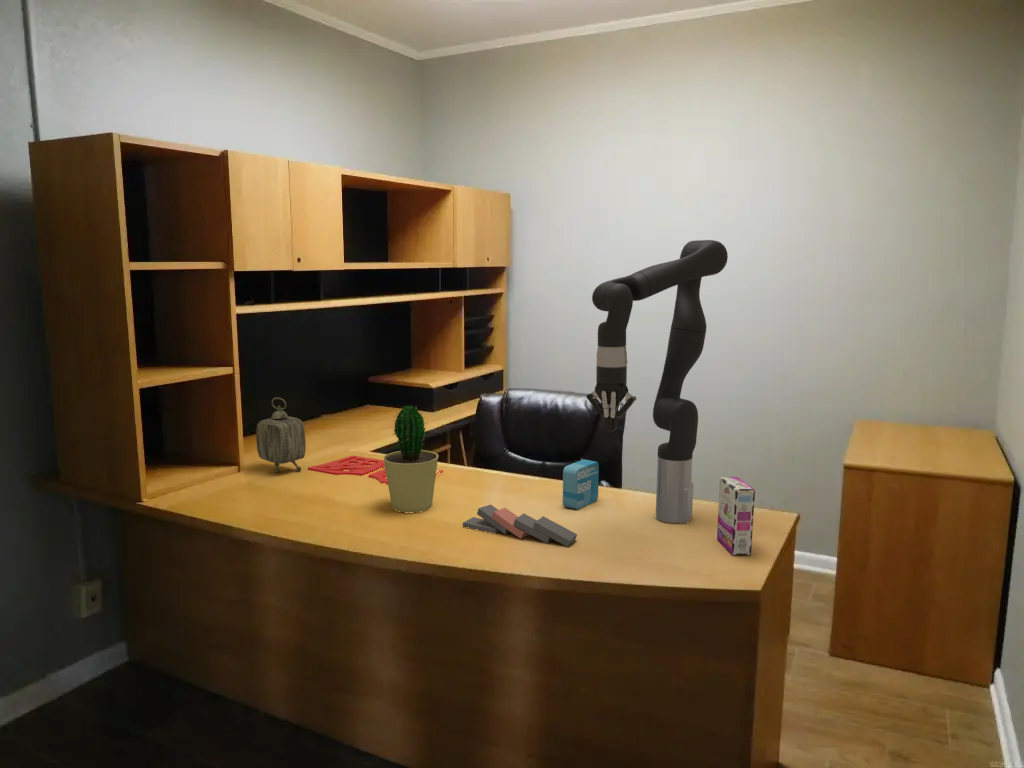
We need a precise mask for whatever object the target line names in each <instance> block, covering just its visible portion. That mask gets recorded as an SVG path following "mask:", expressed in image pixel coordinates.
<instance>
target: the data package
mask: <svg viewBox="0 0 1024 768" xmlns="http://www.w3.org/2000/svg"><path fill="white" fill-rule="evenodd" d="M599 468H600V466H599V462H598V461H594V460H589V459H581V460H578V461H576V462H574V463H570V464H568V465H566V466H565V467H564V468H563V471H562V505H563V506H564V507H566V508H568V509H572V510H580V509H582V508H585V507H586V506H588V505H589V506H590V505H591V504H593V503H595V502H597V500H598V498H599V478H600V477H599V474H600V473H599V472H600V469H599Z"/></svg>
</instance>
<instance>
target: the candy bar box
mask: <svg viewBox="0 0 1024 768" xmlns="http://www.w3.org/2000/svg"><path fill="white" fill-rule="evenodd" d="M718 492H719V493H718V509H717V510H718V512H717V513H718V514H717V531H716V540H717V541H718V543H720V544H721V545H722V547H724V548H725V549H726V550H727V551H728V552H729V554H731V555H732V556H751V555H752V548H753V547H752V545H753V543H752V542H753V528H754V526H753V525H754V513H755V500H756V499H755V497H756V489H755V488H754V487H752V486H751V485H750V484H748V483H747V482H745V481H744V480H742V479H741V478H740V477H738V476H730V477H729V476H726V477H725V476H723V477H719V491H718Z"/></svg>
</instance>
